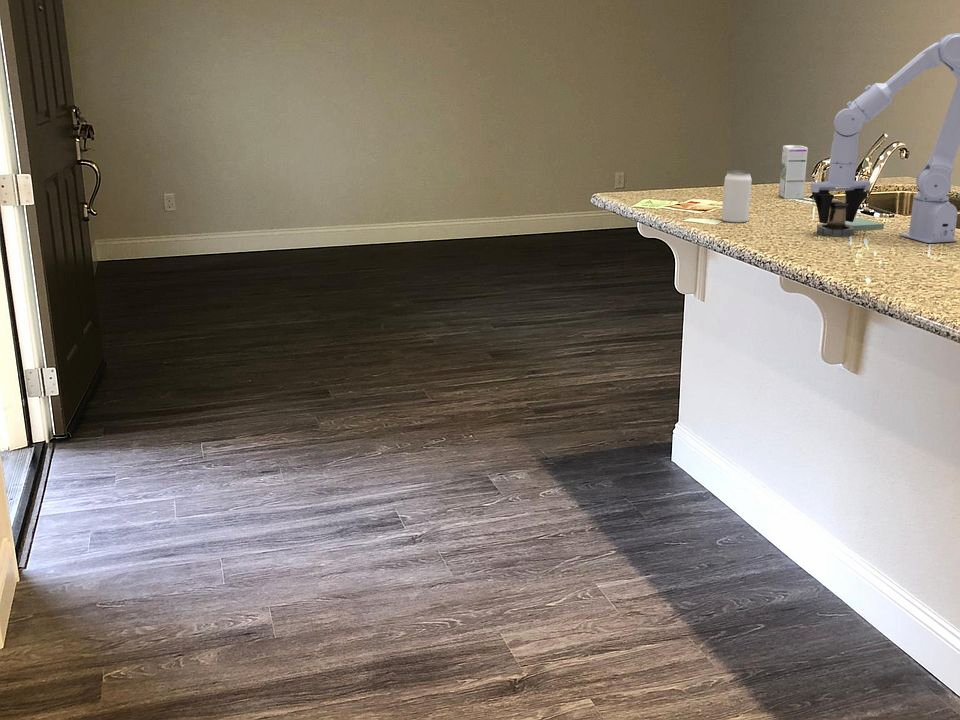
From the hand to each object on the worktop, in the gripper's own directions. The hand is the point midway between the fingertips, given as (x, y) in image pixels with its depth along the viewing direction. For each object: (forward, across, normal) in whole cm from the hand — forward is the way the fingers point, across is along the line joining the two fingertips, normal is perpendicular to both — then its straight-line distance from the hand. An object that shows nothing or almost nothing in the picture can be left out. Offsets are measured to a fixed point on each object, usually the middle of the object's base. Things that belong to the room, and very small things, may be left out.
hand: (836, 222), depth 226 cm
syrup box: (+3, -21, -50) cm, 54 cm away
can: (+3, +14, -21) cm, 25 cm away
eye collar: (+3, 0, 0) cm, 3 cm away
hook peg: (+3, 0, 0) cm, 3 cm away
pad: (+3, -10, -6) cm, 12 cm away
